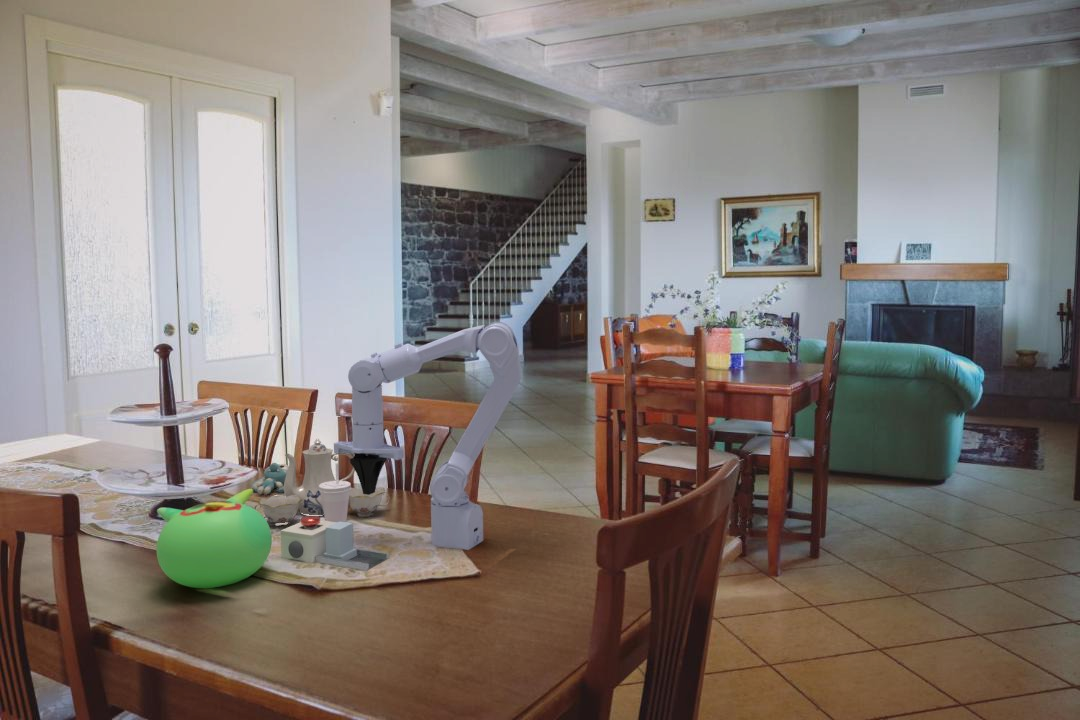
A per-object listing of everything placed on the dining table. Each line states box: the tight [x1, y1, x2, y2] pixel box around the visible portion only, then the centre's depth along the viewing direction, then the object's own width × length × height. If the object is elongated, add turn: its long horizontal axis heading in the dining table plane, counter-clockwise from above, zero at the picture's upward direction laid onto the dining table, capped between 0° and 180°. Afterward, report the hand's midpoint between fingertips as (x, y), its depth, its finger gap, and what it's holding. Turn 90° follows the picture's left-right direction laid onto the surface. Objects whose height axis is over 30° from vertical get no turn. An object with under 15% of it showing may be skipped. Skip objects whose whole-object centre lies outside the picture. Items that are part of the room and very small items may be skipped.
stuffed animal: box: [251, 462, 289, 495], centre depth 201 cm, size 11×7×12 cm
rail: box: [314, 546, 390, 572], centre depth 150 cm, size 11×7×2 cm, turn 66°
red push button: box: [300, 516, 321, 530], centre depth 153 cm, size 3×3×5 cm
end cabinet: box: [280, 519, 337, 564], centre depth 153 cm, size 7×8×6 cm
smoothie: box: [319, 462, 352, 522], centre depth 169 cm, size 6×6×14 cm
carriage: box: [323, 521, 357, 560], centre depth 151 cm, size 4×4×6 cm
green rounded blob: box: [156, 488, 273, 589], centre depth 141 cm, size 18×17×15 cm
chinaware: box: [253, 438, 391, 524], centre depth 180 cm, size 28×17×17 cm, turn 118°
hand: (369, 493), depth 159 cm, fingers closed
